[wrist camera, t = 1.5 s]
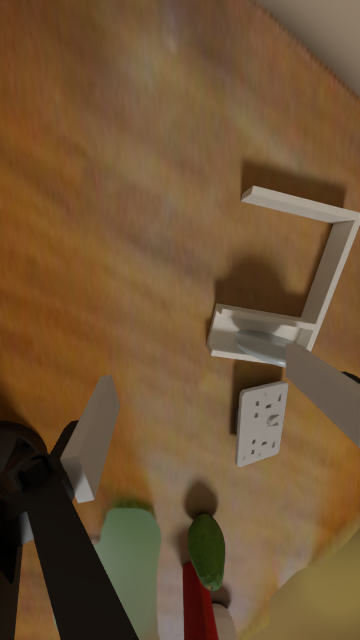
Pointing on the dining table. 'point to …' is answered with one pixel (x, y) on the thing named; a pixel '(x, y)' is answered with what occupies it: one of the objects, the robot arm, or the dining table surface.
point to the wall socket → (259, 422)
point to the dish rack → (321, 291)
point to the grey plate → (263, 346)
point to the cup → (224, 623)
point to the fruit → (207, 551)
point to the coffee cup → (197, 607)
